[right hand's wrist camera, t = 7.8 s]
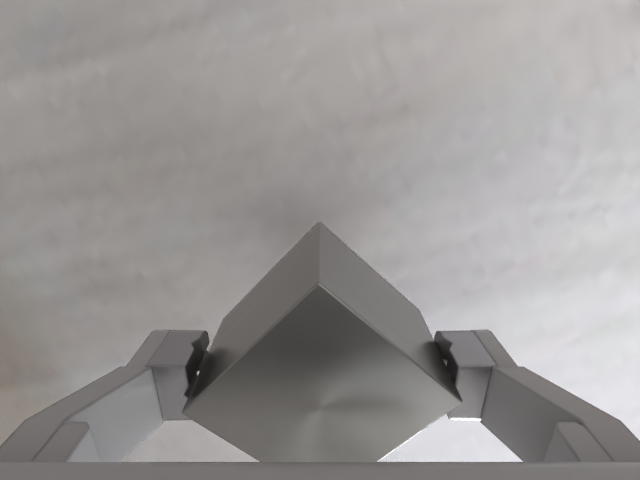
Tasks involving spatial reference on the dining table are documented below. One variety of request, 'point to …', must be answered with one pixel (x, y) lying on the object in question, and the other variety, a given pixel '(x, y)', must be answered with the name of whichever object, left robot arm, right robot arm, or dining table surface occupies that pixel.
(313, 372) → the block
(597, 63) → the dining table surface
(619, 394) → the dining table surface
